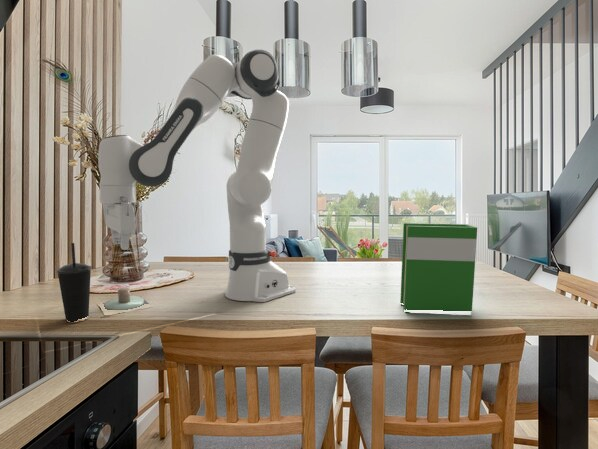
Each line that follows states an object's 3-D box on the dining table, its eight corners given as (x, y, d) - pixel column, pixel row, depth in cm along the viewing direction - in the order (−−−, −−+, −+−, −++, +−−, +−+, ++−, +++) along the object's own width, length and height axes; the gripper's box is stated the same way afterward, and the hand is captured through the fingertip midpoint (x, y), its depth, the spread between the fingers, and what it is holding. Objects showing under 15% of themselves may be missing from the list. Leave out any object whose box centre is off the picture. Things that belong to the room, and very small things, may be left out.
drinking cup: (79, 328, 91) (74, 246, 88) (52, 325, 92) (46, 245, 90) (101, 317, 98) (97, 241, 96) (76, 314, 100) (71, 240, 97)
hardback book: (404, 313, 103) (408, 226, 100) (400, 304, 110) (403, 223, 108) (471, 316, 101) (477, 227, 98) (462, 307, 108) (468, 224, 106)
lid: (138, 297, 113) (137, 282, 112) (148, 307, 105) (147, 290, 104) (101, 304, 106) (100, 288, 106) (108, 314, 99) (107, 297, 98)
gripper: (141, 197, 96) (143, 251, 97) (122, 194, 112) (124, 240, 113) (114, 198, 92) (116, 253, 94) (98, 195, 108) (101, 242, 110)
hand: (120, 246), depth 104 cm, fingers open, 8 cm apart
